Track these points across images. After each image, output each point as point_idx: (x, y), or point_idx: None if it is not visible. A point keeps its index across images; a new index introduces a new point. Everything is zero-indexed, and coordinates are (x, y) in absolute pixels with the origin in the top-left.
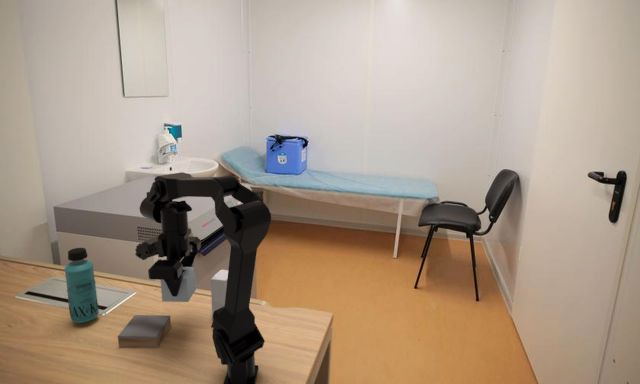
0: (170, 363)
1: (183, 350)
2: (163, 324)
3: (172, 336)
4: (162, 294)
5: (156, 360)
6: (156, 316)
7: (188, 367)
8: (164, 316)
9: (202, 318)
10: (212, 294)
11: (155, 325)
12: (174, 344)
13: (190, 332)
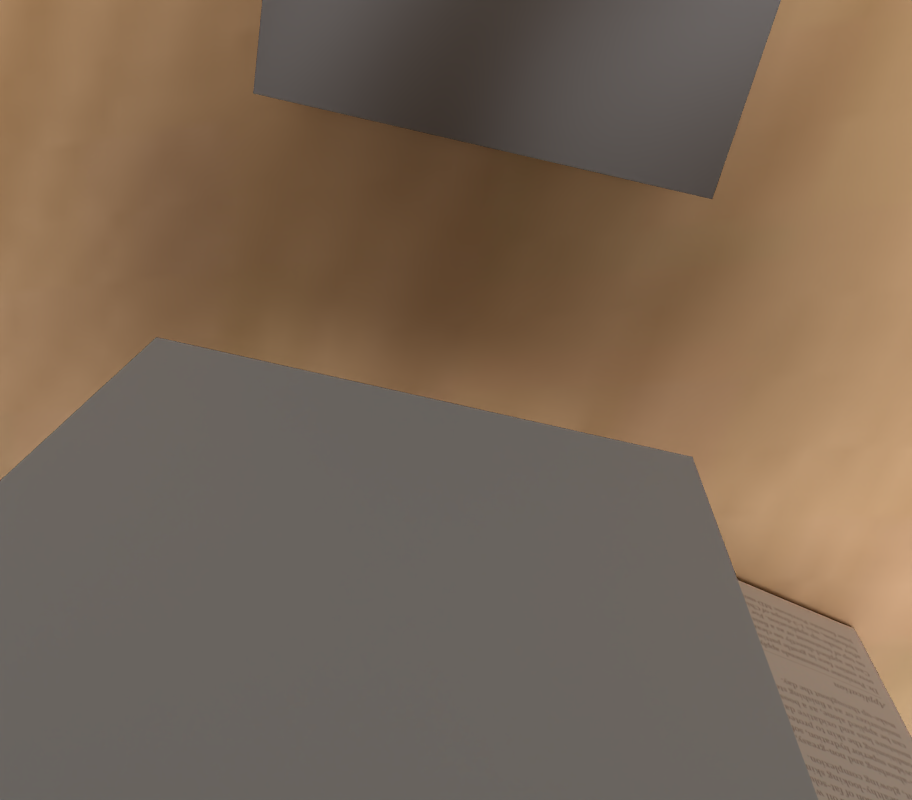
0: (57, 239)
1: (234, 332)
2: (512, 140)
3: (475, 209)
4: (70, 428)
5: (97, 102)
6: (745, 9)
7: (12, 385)
8: (710, 126)
9: (734, 469)
10: None
11: (508, 36)
12: (334, 244)
13: (510, 374)
